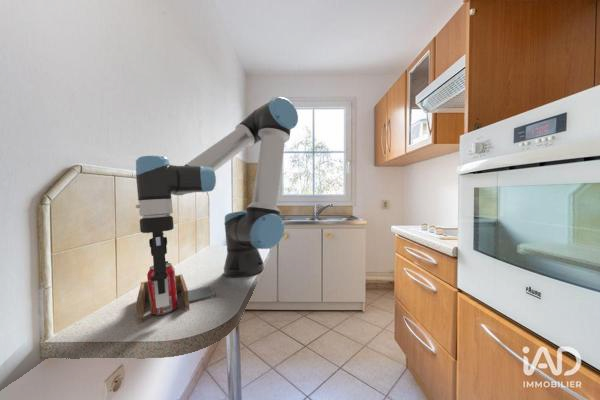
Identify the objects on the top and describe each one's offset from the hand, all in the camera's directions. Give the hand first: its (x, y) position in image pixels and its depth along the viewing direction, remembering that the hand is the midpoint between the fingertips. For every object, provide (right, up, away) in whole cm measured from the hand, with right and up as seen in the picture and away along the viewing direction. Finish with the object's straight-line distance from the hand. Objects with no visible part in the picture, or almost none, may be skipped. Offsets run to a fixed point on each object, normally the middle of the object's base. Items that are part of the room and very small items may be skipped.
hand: (162, 297), depth 64 cm
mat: (+6, -3, +10) cm, 12 cm away
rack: (-2, -4, +5) cm, 7 cm away
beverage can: (0, -4, 0) cm, 4 cm away
